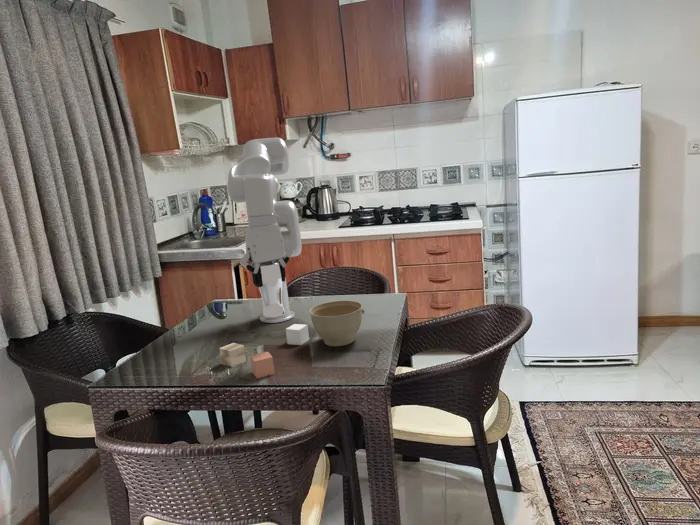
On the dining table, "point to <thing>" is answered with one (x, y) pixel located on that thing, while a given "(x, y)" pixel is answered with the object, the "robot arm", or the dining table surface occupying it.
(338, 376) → the dining table surface
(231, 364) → the beech block
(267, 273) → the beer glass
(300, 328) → the cream block
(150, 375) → the dining table surface
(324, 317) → the planter bowl
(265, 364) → the rust block
